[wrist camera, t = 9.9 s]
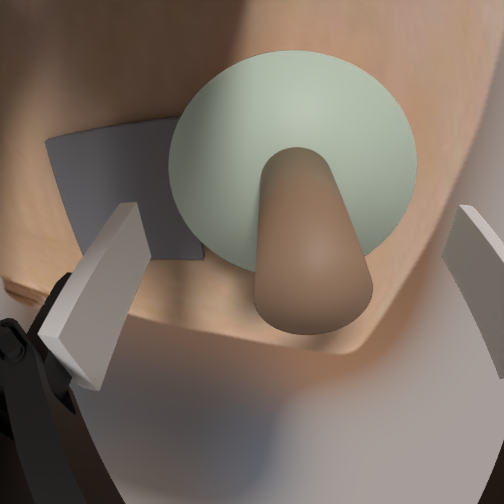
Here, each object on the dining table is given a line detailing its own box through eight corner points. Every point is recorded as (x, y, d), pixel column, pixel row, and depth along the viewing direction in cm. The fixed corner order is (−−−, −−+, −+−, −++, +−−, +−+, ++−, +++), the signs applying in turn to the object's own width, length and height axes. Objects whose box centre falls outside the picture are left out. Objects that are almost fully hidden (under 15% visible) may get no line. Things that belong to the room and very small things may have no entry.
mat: (86, 254, 28) (84, 258, 27) (48, 138, 21) (44, 141, 20) (204, 255, 27) (203, 259, 27) (185, 116, 20) (183, 118, 19)
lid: (192, 261, 21) (159, 388, 14) (162, 58, 13) (47, 96, 6) (385, 261, 20) (426, 384, 13) (418, 63, 12) (548, 114, 5)
